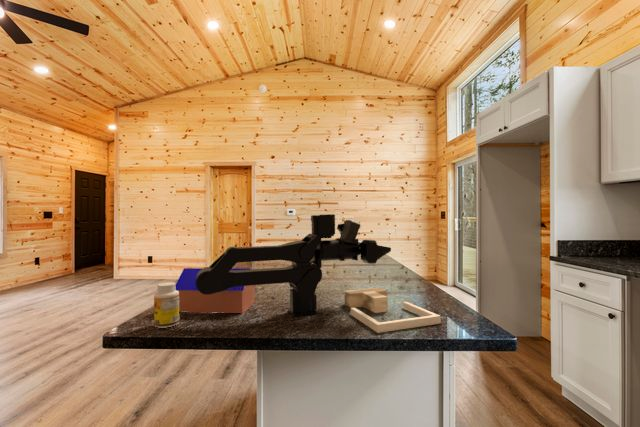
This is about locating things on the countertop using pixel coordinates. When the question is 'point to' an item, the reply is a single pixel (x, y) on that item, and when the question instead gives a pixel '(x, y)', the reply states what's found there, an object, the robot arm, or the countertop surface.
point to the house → (212, 296)
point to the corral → (424, 320)
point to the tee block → (367, 299)
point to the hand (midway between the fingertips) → (382, 247)
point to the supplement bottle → (166, 305)
